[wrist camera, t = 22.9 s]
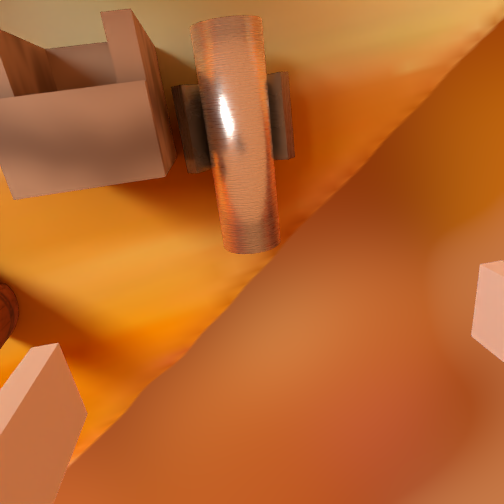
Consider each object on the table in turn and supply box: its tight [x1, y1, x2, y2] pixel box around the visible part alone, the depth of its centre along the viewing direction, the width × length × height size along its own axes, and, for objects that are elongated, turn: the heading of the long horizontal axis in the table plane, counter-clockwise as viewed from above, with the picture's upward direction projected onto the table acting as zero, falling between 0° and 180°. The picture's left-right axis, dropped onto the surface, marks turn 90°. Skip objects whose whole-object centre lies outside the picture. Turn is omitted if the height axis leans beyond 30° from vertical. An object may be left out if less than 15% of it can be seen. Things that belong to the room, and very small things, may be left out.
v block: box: [171, 72, 295, 173], centre depth 33 cm, size 7×10×6 cm
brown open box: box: [0, 9, 177, 200], centre depth 28 cm, size 10×10×13 cm
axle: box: [190, 15, 281, 254], centre depth 30 cm, size 18×6×6 cm, turn 7°
